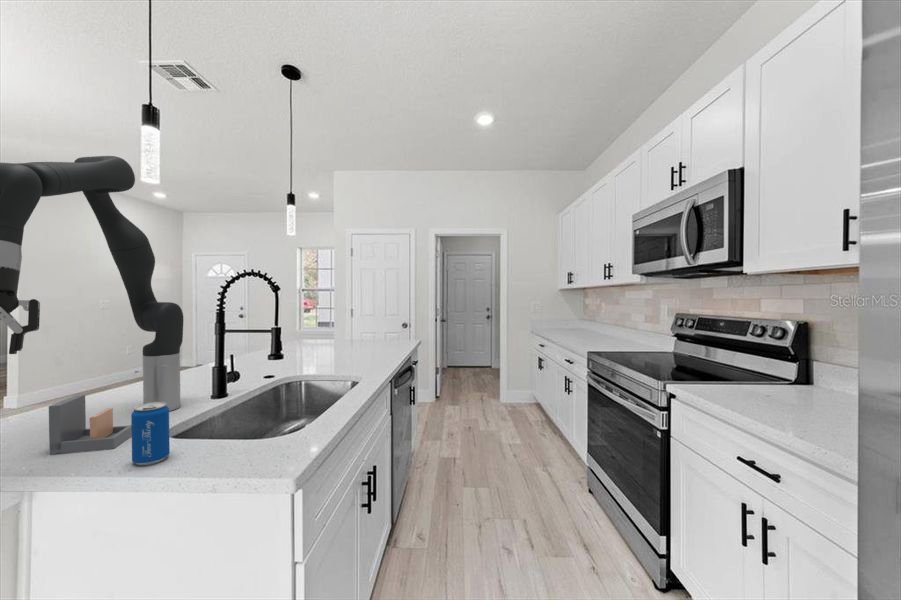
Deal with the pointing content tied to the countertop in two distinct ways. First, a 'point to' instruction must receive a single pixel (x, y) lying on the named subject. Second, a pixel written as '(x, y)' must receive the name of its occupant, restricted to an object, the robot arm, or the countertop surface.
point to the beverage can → (150, 433)
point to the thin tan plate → (101, 424)
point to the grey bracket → (78, 429)
